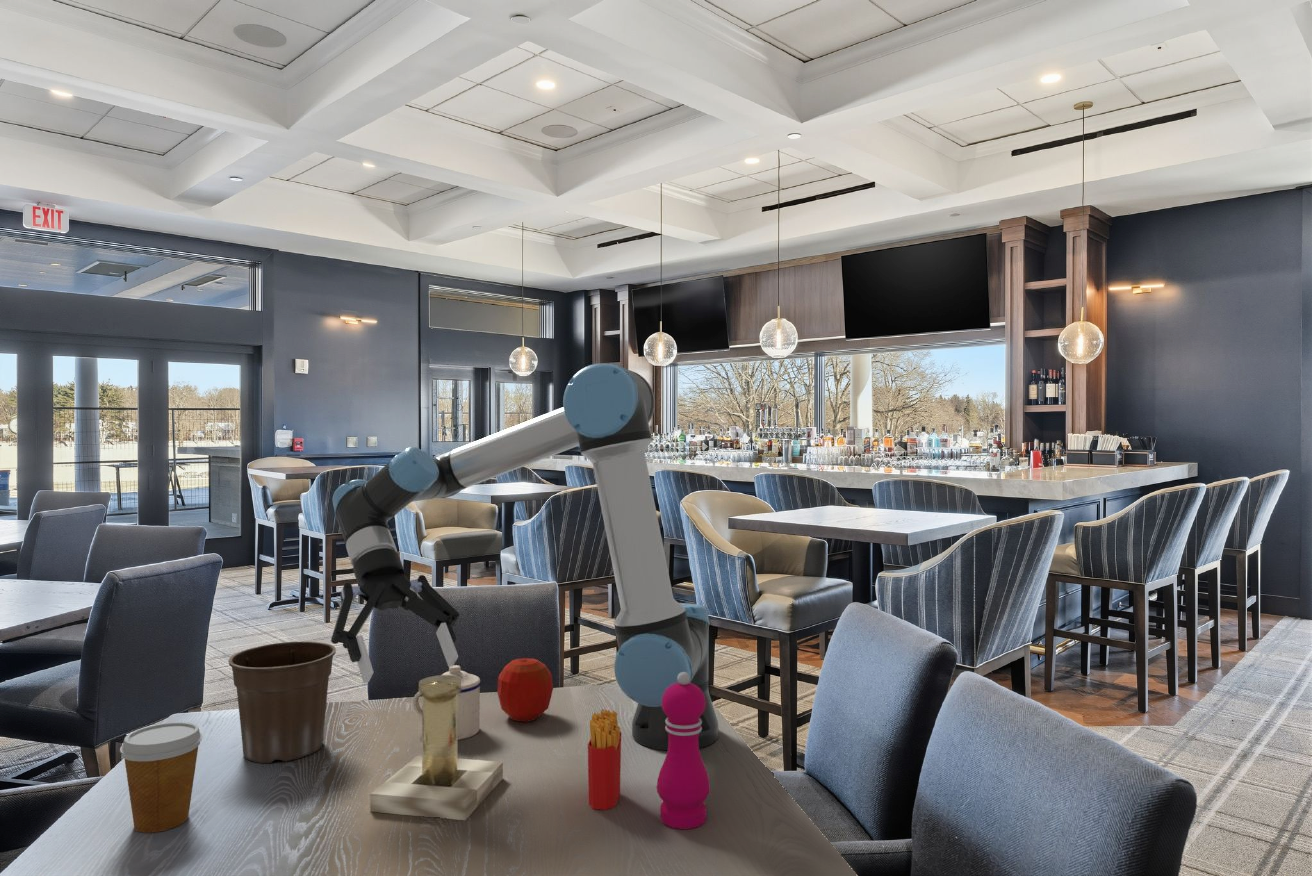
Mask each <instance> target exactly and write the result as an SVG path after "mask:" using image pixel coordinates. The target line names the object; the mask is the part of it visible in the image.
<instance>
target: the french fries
mask: <svg viewBox="0 0 1312 876" xmlns="http://www.w3.org/2000/svg"><path fill="white" fill-rule="evenodd" d="M589 730H590V739H589V741H588V743H587V770H588V771H587V772H588V773H587V774H588V775H587V776H588V781H587V783H588V806H589V807H590V808H592V810H603V811H604V810H606V811H607V810H608V809H611V808H614V807H615V806H616V804H617V802H618V800H619V798H620V795H621V765H622V764H621V763H622V762H621V761H622V759H621V758H622V757H621V756H622V732H621V727H620V726H618V713H617V712H616V711H615V710H612V711H611V710H610V709H608V710H607V709H604V710H603V709H602V710H601V711H600V713H599V712H597V713H596V712H594V713H592V715H591V720H590V721H589Z"/></svg>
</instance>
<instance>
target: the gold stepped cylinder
mask: <svg viewBox="0 0 1312 876" xmlns="http://www.w3.org/2000/svg"><path fill="white" fill-rule="evenodd" d="M418 692H419V695H420V696H421V698H422V699H421V700H422V703H421V705H422V706H421V710H422V717H421V718H422V719H421V721H422V726H421V732H422V733H421V736H422V737H421V756H422V785H429V786H441V787H451V786H452V785H453V784H454V783H455V782H456V781H457V765H458V759H459V758H458V757H459V755H458V752H459V751H458V749H459V748H458V693H460V692H461V678H460V677H457V676H452V675H442V674H440V675H431V676H428V677H425V678H422V679H420V680H419V681H418Z"/></svg>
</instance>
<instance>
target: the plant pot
mask: <svg viewBox="0 0 1312 876" xmlns="http://www.w3.org/2000/svg"><path fill="white" fill-rule="evenodd" d="M336 652H337V648H336V646H334V645H333V644H330V643H327V642H319V641H285V642H275V643H268V644H263V645H259V646H256V647H251V648H247V649H244V650H241V651H238V652H236V653H235V654H233V655H232V656H230V657H229V658H228V661H227V662H228V666H230V668H231V669H232V670H231V671H232V676H233V685H234V687H235V688H236V695H237V704H238V714H239V722H240V723H239V725H240V733H241V735H240V736H241V741H242V742H241V743H242V744H241V745H242V754H243V757H244V758H245V759H246V760H248V761H251V762H253V763H260V764H261V763H262V764H272V763H273V762H274V761H276V760H279V761H283V762H285V763H286V762H289V761H294V760H297V759H302V758H305V757H307V755H308V756H309V755H312V754H313V753H315V752H316V751H319V749H321V748H322V746H323V742H324V739H325V736H324V735H325V725H326V723H325V722H326V712H327V701H328V692H329V691H328V690H329V689H328V688H329V680H330V679H329V678H330V676H331V674H332V669H333V667H332V666H333V657H334V656H335V655H336ZM304 756H305V757H304Z"/></svg>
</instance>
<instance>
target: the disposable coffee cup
mask: <svg viewBox="0 0 1312 876" xmlns="http://www.w3.org/2000/svg"><path fill="white" fill-rule="evenodd" d="M199 728H200V727H199V726H198V724H195V723H193V722H186V721H179V722H178V721H174V722H173V721H171V722H164V723H158V724H153V725H148V726H144V727H142V728H139V729H136V730H134V731H132V732H130V733H129V734H127V735H126V736H125V737H124V739H123V743H122V745H121V746H120V748H119V753H120V754H121V755H122V758H123V759H124V765H125V771H126V780H127V781H126V782H127V785H128V786H127V787H128V791H129V801H130V805H131V806H130V807H131V815H132V820H133V829H134V830H135V831H136V832H139V833H144V834H145V833H148V834H149V833H158V832H165V831H167V830H171V829H173V828H176V827H179V826H180V825H182V824H183V823H185V822H186V821H187V820H188V818H189V816H190V815H189V814H190V809H191V808H190V807H191V800H192V793H193V786H194V779H195V774H196V773H195V772H196V764H197V758H198V750H199V746H200V744H201V741H202V739H203V733H201V732H200V731H201V730H200V729H199Z"/></svg>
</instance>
